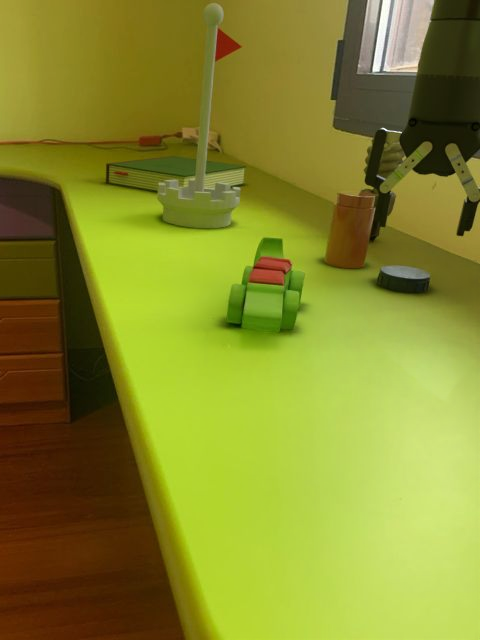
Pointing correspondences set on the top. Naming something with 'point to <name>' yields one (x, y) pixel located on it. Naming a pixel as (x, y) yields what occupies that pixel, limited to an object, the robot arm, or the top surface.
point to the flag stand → (203, 149)
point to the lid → (404, 279)
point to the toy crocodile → (267, 291)
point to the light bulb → (387, 166)
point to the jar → (350, 229)
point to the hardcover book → (170, 172)
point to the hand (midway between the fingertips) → (420, 230)
